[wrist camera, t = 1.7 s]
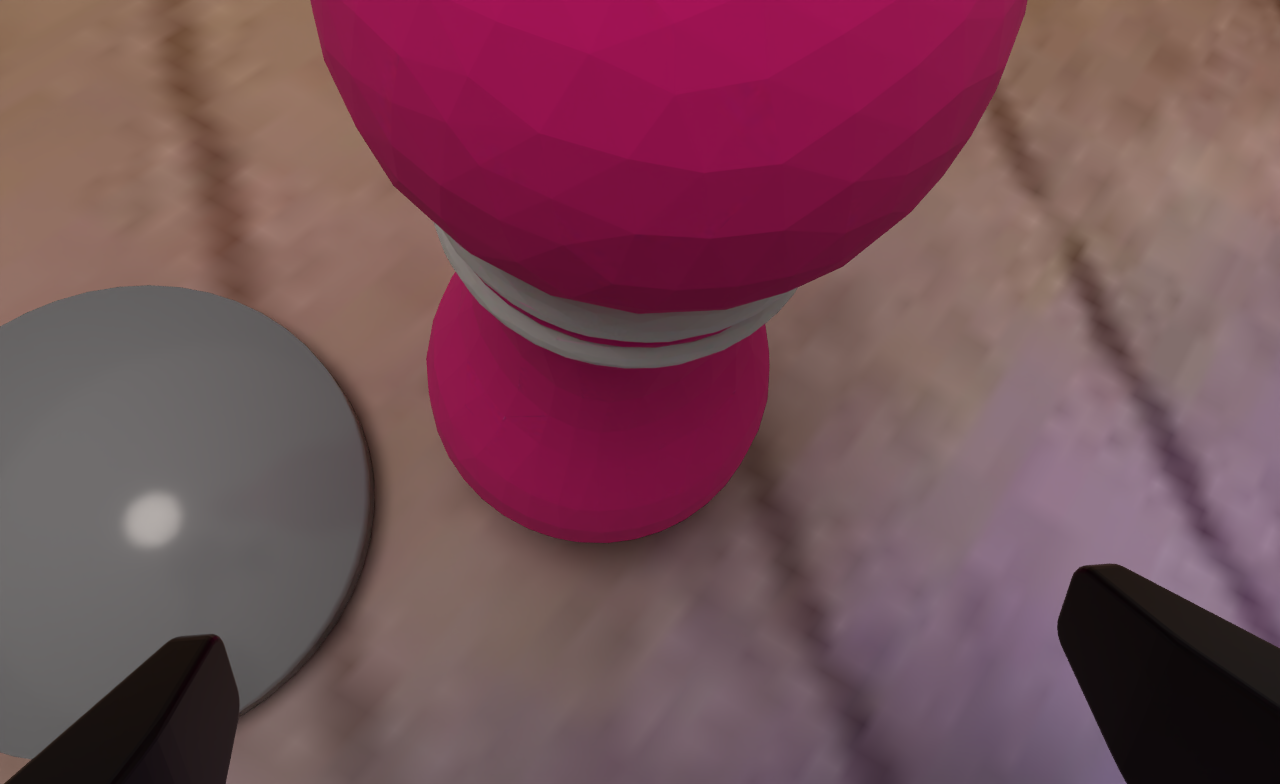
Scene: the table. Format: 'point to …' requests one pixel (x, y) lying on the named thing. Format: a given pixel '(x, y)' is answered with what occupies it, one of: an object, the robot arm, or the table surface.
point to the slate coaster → (166, 498)
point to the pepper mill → (644, 212)
